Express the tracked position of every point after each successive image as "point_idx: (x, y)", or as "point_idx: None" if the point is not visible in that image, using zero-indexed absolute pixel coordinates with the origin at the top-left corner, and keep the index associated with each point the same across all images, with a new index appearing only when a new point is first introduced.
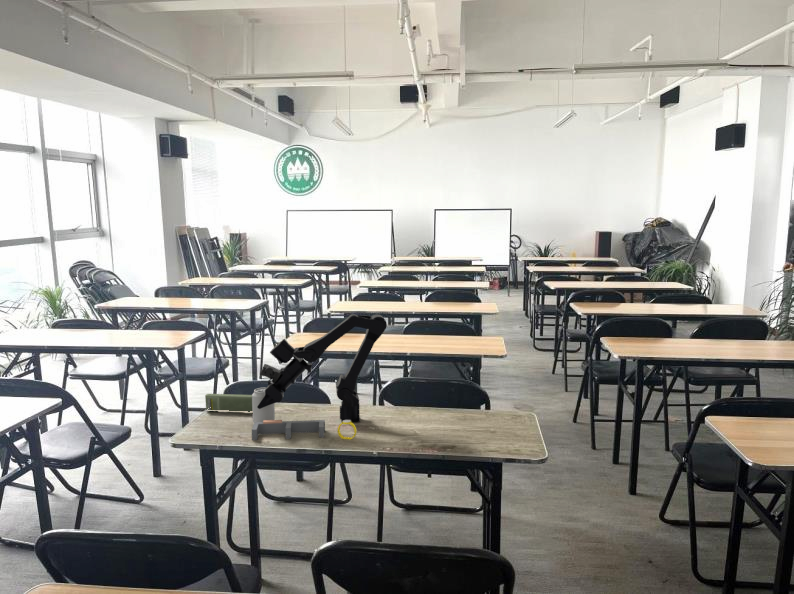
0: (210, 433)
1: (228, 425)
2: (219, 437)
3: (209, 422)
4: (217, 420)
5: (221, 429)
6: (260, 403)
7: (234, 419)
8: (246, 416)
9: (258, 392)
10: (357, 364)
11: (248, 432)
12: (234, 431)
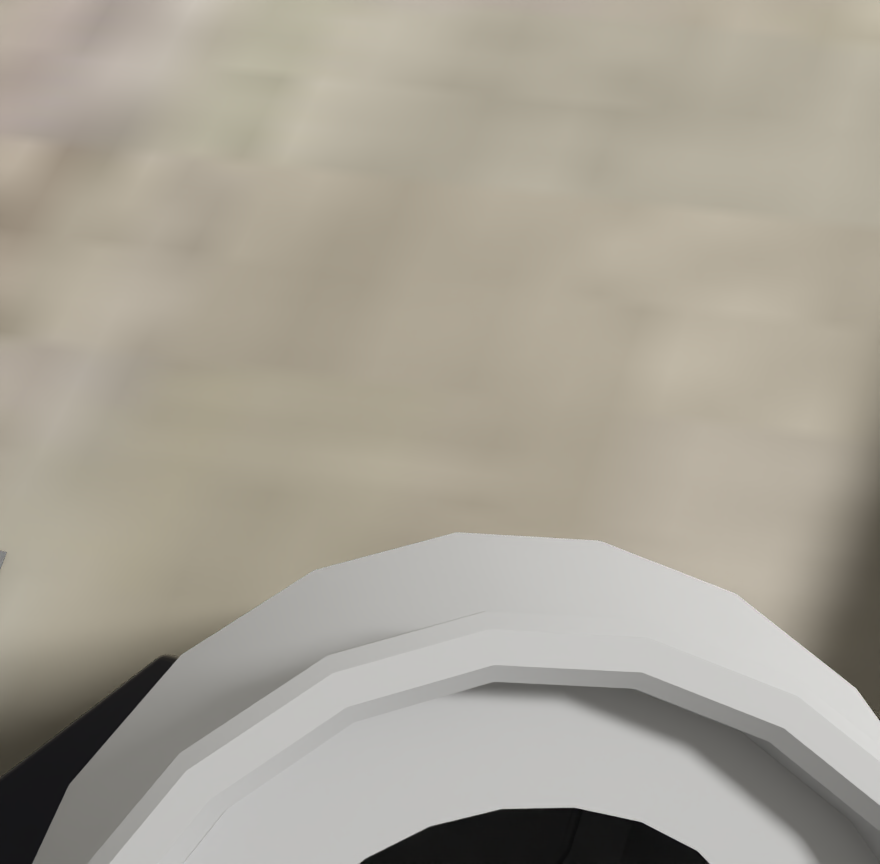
0: (263, 11)
1: (512, 242)
2: (50, 88)
3: (723, 42)
4: (782, 137)
5: (371, 143)
6: (25, 772)
7: (766, 349)
8: (872, 536)
9: (116, 831)
10: None
11: (72, 464)
12: (211, 286)
